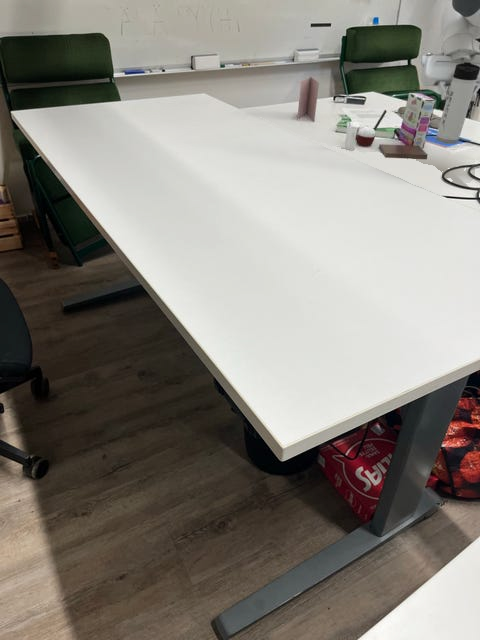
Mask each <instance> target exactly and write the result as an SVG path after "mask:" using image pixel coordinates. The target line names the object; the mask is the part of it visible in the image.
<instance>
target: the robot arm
mask: <svg viewBox="0 0 480 640" xmlns="http://www.w3.org/2000/svg"><path fill="white" fill-rule="evenodd" d="M440 22H441V23H440V37H441V40H442V43H441V47H440V48H441V49H440V50H441V51H440V52H426V53H425V54H423V55H422V56H421V60H420V61H421V63H420V64H421V67H422V70H421V73H420V83H421V85H422V86H424V87H436V90H437V91H438V93H439V94H440V95H441V101H446V100H447V99H448V98H449V90H447V88H450V85H451V82H452V78H453V75H454V72H455V68H456V65H457V64H461V63H464V62H469V63H471V64H474V65H477V66H479V67H480V41H479V39H480V0H449V1H447V3H446V4H445V6H444V9H443V11H442V15H441V21H440ZM479 89H480V71H479V74H478V77H477V81H476V85H475V88H474V91H473V95H472V98H471V101H470V102H475V101H476V100H477V93H478V91H479Z"/></svg>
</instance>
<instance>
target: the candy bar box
mask: <svg viewBox="0 0 480 640" xmlns="http://www.w3.org/2000/svg"><path fill="white" fill-rule="evenodd" d="M436 102H437V100H436V99H434V98H432V97H431V96H428V95H426V94H423V93H422V92H409V93H408V96H407V100H406V104H405V109H404V112H403V117H402V121H401V127H400V130H399V133H398V134H399V135H398V139H397V140H398V141H399V142H401V143H402V144H403V145H409V146H420V147H421V148H422V149H423V150H424V147H425V144H426V140H427V136H428V133H429V129H430V125H431V121H432V117H433V114H434V110H435V107H436Z"/></svg>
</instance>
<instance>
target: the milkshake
mask: <svg viewBox="0 0 480 640" xmlns="http://www.w3.org/2000/svg"><path fill="white" fill-rule="evenodd" d="M361 126H362V125H361V124H360V123H359V122H358V121H350V120H348V122H347V123H346V134H345V146H344V150H345V149H346V150H345V151H347V150H349V151H348V152H354V151H355V148H356V145H357V143H356V142H357V137H358V134H359V130H360V128H362V127H361ZM353 150H354V151H353Z"/></svg>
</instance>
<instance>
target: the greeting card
mask: <svg viewBox="0 0 480 640" xmlns="http://www.w3.org/2000/svg"><path fill="white" fill-rule="evenodd" d="M319 85H320V82H319V81H317V80H316V79H315V78H313V77H312V76H309V77H308V78H306V79H304V80H302V81H300V86H299V87H300V89H299V99H298V109H297V116H296V117H297V120H298V119H299V120H300V118H301V117H302V118H304V117H305V116H308V117H309V119H310V120H311V121H313V122H315V119H316V112H317V111H316V110H317V103H318V93H319V88H320V87H319ZM306 114H307V115H306ZM303 116H304V117H303ZM302 118H301V119H302ZM297 120H296V121H297ZM299 120H298V121H299Z"/></svg>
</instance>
